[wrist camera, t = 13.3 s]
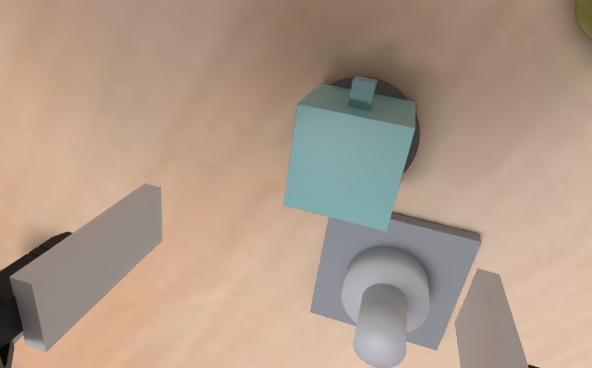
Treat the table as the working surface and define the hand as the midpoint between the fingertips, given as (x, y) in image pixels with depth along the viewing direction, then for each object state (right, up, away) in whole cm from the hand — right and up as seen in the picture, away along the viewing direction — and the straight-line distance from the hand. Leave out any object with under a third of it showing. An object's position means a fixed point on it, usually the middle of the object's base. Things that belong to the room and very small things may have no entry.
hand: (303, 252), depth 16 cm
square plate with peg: (+8, -5, +20) cm, 22 cm away
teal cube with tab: (+4, +6, +15) cm, 17 cm away
